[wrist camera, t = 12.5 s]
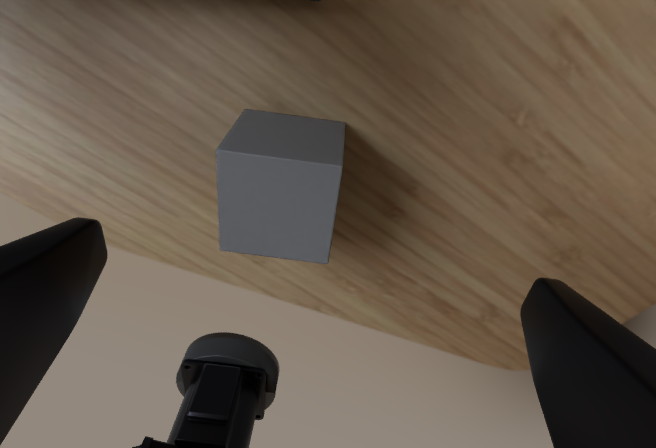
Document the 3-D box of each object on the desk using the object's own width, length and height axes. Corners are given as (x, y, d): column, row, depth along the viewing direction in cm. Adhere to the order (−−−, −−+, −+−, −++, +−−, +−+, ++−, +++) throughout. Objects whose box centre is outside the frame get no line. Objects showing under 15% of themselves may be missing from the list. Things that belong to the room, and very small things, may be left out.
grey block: (333, 208, 23) (328, 264, 19) (244, 196, 23) (219, 251, 19) (345, 121, 20) (343, 166, 16) (244, 108, 20) (215, 149, 16)
